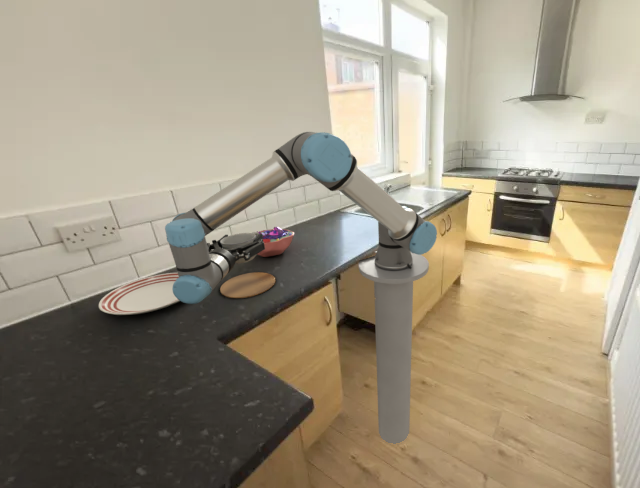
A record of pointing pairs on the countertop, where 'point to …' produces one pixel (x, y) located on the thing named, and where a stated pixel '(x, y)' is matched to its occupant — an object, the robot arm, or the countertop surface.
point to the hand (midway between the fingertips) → (244, 237)
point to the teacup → (239, 242)
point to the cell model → (275, 241)
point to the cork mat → (247, 285)
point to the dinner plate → (141, 296)
